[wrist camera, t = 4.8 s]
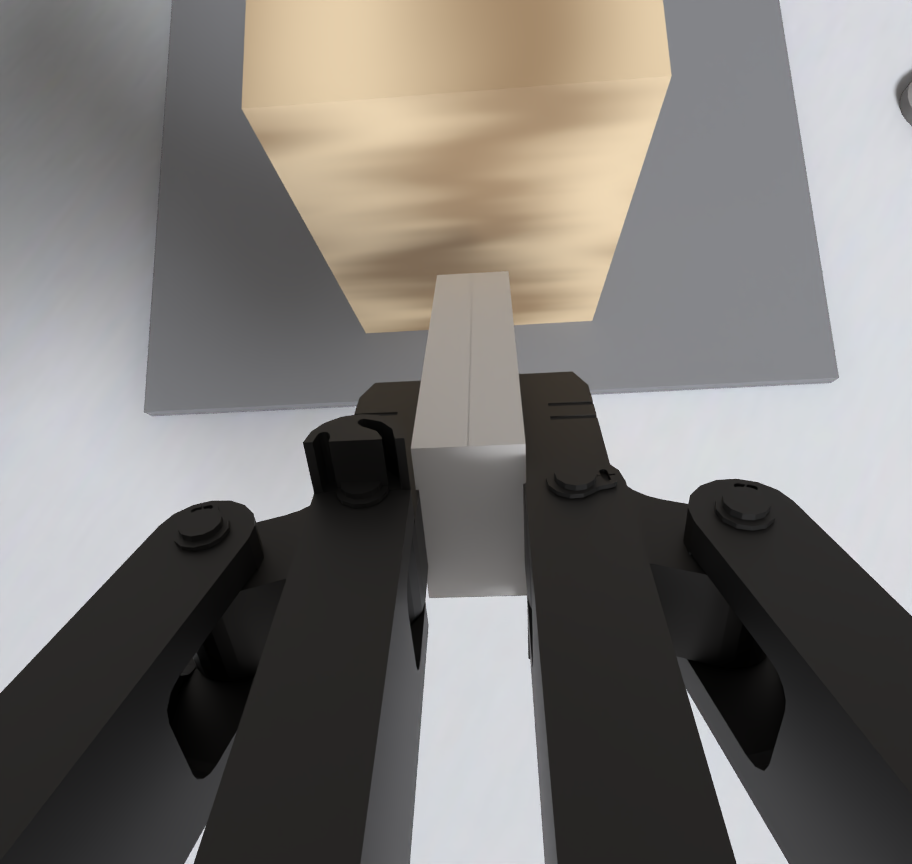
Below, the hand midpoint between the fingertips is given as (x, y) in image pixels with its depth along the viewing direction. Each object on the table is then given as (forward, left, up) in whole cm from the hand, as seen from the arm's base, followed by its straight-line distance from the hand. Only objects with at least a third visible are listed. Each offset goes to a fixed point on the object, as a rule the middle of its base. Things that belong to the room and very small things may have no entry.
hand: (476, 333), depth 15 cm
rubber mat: (0, +11, -9) cm, 15 cm away
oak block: (0, +5, -9) cm, 10 cm away
